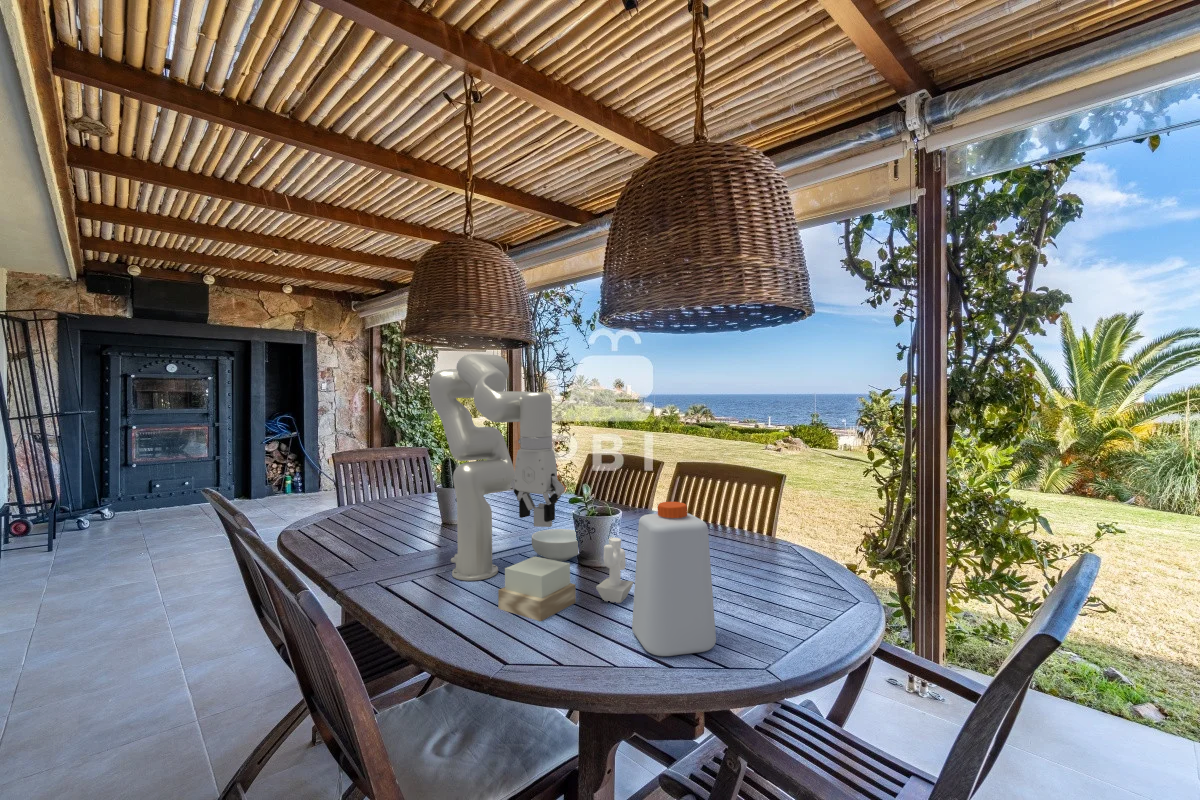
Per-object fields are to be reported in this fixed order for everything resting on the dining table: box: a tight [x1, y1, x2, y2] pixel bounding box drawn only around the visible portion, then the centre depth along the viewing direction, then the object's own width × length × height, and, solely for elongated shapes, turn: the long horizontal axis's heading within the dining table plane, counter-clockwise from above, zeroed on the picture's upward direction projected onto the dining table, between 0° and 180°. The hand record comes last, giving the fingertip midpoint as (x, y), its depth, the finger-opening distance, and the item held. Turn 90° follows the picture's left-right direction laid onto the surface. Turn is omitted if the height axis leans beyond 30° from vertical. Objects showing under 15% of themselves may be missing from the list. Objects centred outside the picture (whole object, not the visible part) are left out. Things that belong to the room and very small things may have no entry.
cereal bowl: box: [531, 528, 579, 562], centre depth 170 cm, size 17×17×7 cm
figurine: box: [595, 536, 635, 604], centre depth 136 cm, size 7×9×15 cm
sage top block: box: [504, 555, 571, 598], centre depth 132 cm, size 11×11×5 cm
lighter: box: [522, 492, 553, 528], centre depth 132 cm, size 7×2×8 cm, turn 79°
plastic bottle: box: [631, 501, 717, 657], centre depth 114 cm, size 15×15×28 cm
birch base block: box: [497, 582, 577, 622], centre depth 132 cm, size 13×13×5 cm
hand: (536, 518), depth 132 cm, fingers closed on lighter, 7 cm apart
